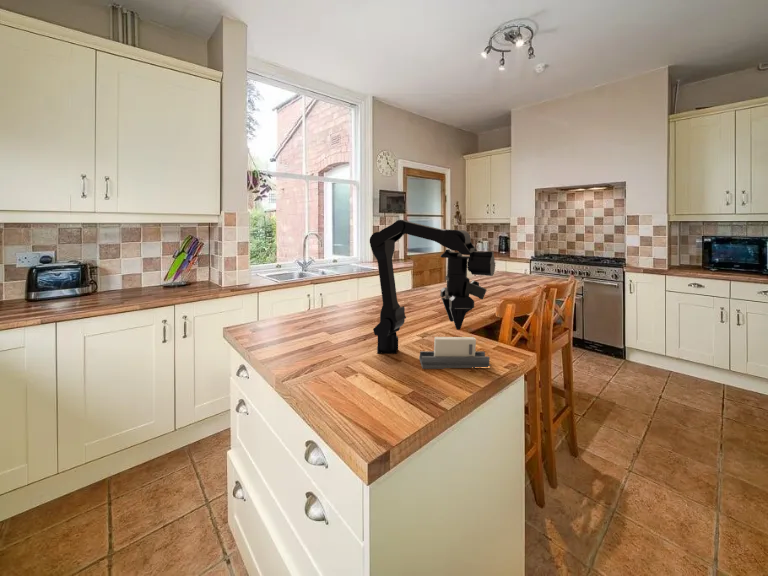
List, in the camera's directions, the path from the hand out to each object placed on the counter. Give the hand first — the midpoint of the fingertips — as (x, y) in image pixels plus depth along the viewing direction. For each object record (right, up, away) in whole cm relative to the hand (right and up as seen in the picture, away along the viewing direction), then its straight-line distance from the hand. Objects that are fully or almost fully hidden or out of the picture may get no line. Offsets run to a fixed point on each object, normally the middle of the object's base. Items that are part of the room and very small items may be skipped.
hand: (454, 325), depth 107 cm
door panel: (0, -11, +2) cm, 11 cm away
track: (0, -12, +2) cm, 12 cm away
